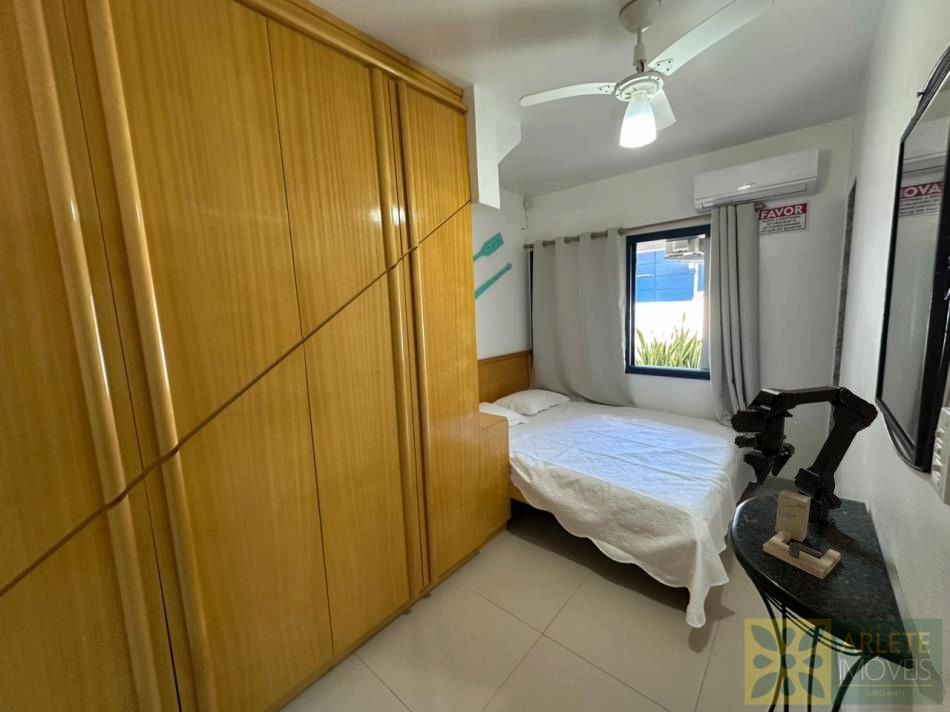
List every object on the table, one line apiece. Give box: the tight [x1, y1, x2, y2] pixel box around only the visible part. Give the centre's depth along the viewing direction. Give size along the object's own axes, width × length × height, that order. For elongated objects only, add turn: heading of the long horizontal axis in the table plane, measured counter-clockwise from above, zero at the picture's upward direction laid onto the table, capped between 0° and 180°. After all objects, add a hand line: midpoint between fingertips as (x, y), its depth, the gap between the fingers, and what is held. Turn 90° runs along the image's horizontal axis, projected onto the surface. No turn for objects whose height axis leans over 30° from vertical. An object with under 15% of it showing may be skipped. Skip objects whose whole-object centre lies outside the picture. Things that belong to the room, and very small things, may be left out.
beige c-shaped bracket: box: [762, 529, 841, 580], centre depth 93 cm, size 12×12×6 cm
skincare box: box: [774, 488, 811, 543], centre depth 101 cm, size 6×4×12 cm
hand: (767, 480), depth 107 cm, fingers open, 9 cm apart
